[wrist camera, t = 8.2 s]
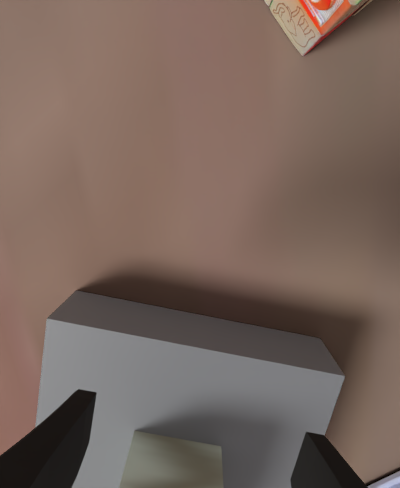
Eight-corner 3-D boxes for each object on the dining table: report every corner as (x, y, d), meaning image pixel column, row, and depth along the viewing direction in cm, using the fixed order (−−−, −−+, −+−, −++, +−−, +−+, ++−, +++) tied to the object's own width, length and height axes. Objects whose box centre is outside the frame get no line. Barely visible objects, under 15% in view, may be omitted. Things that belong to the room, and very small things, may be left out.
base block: (320, 338, 22) (345, 376, 18) (260, 525, 25) (270, 590, 21) (76, 290, 21) (46, 318, 17) (51, 488, 25) (22, 548, 21)
